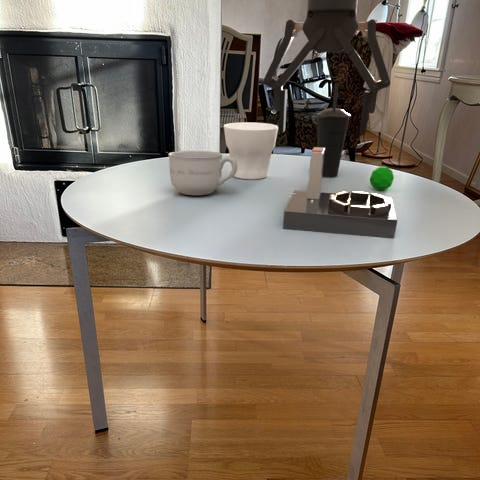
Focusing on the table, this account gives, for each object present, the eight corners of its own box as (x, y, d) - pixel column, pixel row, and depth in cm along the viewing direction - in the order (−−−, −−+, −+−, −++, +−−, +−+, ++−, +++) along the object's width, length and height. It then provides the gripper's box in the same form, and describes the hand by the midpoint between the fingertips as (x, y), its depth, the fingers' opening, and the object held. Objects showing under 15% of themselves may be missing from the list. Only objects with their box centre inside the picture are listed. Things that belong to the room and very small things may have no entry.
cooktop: (388, 211, 90) (391, 194, 89) (394, 238, 77) (397, 219, 76) (290, 203, 94) (291, 187, 92) (279, 228, 80) (280, 209, 79)
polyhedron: (371, 192, 102) (374, 169, 100) (365, 186, 107) (369, 164, 104) (394, 192, 103) (398, 169, 100) (388, 187, 107) (392, 165, 105)
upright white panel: (309, 191, 90) (313, 145, 86) (320, 192, 89) (325, 146, 85) (307, 198, 86) (311, 150, 82) (318, 199, 85) (323, 151, 81)
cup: (212, 176, 113) (212, 125, 107) (242, 167, 122) (243, 120, 116) (258, 184, 107) (259, 131, 101) (285, 174, 116) (288, 125, 110)
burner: (387, 202, 84) (389, 193, 84) (391, 219, 76) (392, 209, 75) (330, 198, 86) (331, 189, 85) (327, 214, 78) (328, 204, 77)
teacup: (160, 195, 97) (157, 153, 93) (187, 183, 106) (186, 145, 102) (221, 204, 92) (221, 161, 88) (244, 192, 101) (245, 152, 97)
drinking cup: (339, 171, 120) (349, 82, 110) (346, 178, 113) (358, 84, 103) (308, 171, 119) (316, 81, 110) (314, 178, 113) (323, 83, 103)
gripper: (247, -20, 71) (245, 133, 81) (424, -24, 66) (398, 138, 77) (256, -14, 77) (254, 127, 88) (418, -17, 73) (395, 132, 83)
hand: (321, 133), depth 82 cm, fingers open, 13 cm apart
